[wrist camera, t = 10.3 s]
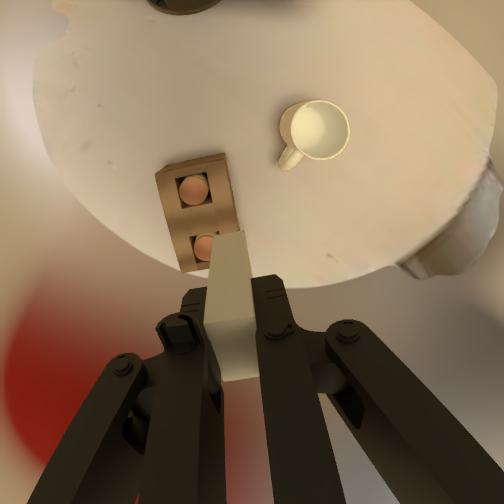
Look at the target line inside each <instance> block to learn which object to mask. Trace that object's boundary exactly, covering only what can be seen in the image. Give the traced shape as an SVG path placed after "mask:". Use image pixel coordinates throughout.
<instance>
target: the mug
mask: <svg viewBox="0 0 504 504" xmlns="http://www.w3.org/2000/svg"><path fill="white" fill-rule="evenodd" d="M279 128H280V134H281V137H282V138H283V140H284V142H285V143H286V144H287V147H286V148H285V150H284V151H283V153H282V155H281V157H280V159H279V164H278V165H279V168H280V170H282V171H288V170H290V169H292V168H293V167H294V166H295V165H296V164H297V163H298V162H299V161H300V160H301V159H302V157H303V156H304V155H305V156H307V157H309V158H312V159H316V160H326V159H330V158H333V157H335V156H336V155H338V154H339V153H340V152H341V151H342V150H343V149H344V148H345V146H346V144H347V142H348V139H349V134H350V128H349V123H348V120H347V118H346V116H345V114H344V113H343V111H342V110H341V109H340V108H339V107H337V106H336V105H335V104H333V103H331V102H328V101H324V100H314V101H309V102H304V103H299V104H295V105H293V106H291V107H290V108H288V109H287V110H286V111H285V112H284V114H283V115H282V117H281V120H280V125H279Z"/></svg>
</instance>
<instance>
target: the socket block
mask: <svg viewBox="0 0 504 504" xmlns="http://www.w3.org/2000/svg"><path fill="white" fill-rule="evenodd" d="M202 172H207V177H208V182H209V187H210V191H208V194H207V197H206V199H205V200H204V201H203V202H202V203H200V204H198V205H189V204H187V203H185V202H184V201H183V200H182V199H181V197H180V194H179V189H180V185H181V184H182V182H183V181H184V180H185V176H188V175H192V174H197V173H202ZM155 178H156V182H157V186H158V190H159V194H160V198H161V202H162V206H163V210H164V214H165V217H166V221H167V225H168V228H169V232H170V235H171V239H172V242H173V246H174V249H175V253H176V256H177V259H178V263H179V266H180V269H181V273H186V272H192V271H198V270H203V269H209V267H210V261H203V260H201V259H199V258H198V257H197V256H196V255H195V253H194V244H195V240H196V237H197V235H200V234H206V233H211V232H217V231H219V233H220V235H221V234H227V233H232V232H238V231H240V229H239V224H238V219H237V213H236V208H235V203H234V198H233V192H232V187H231V182H230V177H229V171H228V166H227V161H226V155H225V153H223V154H218V155H213V156H208V157H203V158H198V159H193V160H189V161H184V162H180V163H175V164H171V165H167V166H165V167H164V168H162V169H161V170H160V171H159V172H157V173H156V174H155Z"/></svg>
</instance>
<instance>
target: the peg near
mask: <svg viewBox="0 0 504 504" xmlns="http://www.w3.org/2000/svg"><path fill="white" fill-rule="evenodd" d="M208 190H209V182H208V177H207V172H202V173H197V174H192V175H188V176H187V177H186V178H185V180H184V181H183V182H182V184H181V185H180V189H179V194H180V197H181V199H182V200H183V201H184V202H185V203H187V204H189V205H198V204H200V203H202V202H203V201H204V200H205V199H206V197H207V194H208Z"/></svg>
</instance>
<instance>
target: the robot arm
mask: <svg viewBox="0 0 504 504" xmlns="http://www.w3.org/2000/svg"><path fill="white" fill-rule="evenodd" d="M147 1H148V2H149V3H150V5H151V6H153V7H154V8H155V9H157V10H159V11H161V12H163V13H167V14H172V15H188V14H194V13H198V12H201V11H204V10H206V9H208V8H210V7H212V6H214V5H216V4H217V3H218V2H220V1H221V0H147ZM155 329H156V331H157V333H158V335H159V338H160V340H161V342H162V344H163V346H164V352H163V353H161V354H159V355H157V356H154V357H152V358H148V359H145V360H142V359H141V358H140V357H139V356H138V355H137V354H134V353H123V354H120V355H118V356H116V357H115V358H113V359H112V360H111V361H110V362H109V363H108V364H107V366H106V367H105V369H104V370H103V372H102V373H101V375H100V376H99V378H98V380H97V381H96V383H95V384H94V386H93V388H92V389H91V391H90V392H89V394H88V396H87V397H86V399H85V400H84V402H83V404H82V405H81V407H80V409H79V410H78V412H77V413H76V415H75V417H74V419H73V420H72V422H71V424H70V425H69V427H68V429H67V430H66V432H65V434H64V435H63V437H62V439H61V441H60V443H59V444H58V446H57V448H56V450H55V451H54V453H53V455H52V457H51V458H50V460H49V462H48V464H47V466H46V468H45V469H44V471H43V473H42V475H41V477H40V479H39V481H38V483H37V485H36V487H35V488H34V491H33V492H32V494H31V496H30V498H29V500H28V503H27V504H135V501H136V499H137V496H138V494H139V500H138V504H227V501H226V473H225V437H224V436H225V435H224V392H223V389H222V386H221V376H222V378H223V381H231V380H239V379H246V378H253V377H260V385H261V393H262V402H263V411H264V419H265V429H266V437H267V446H268V454H269V463H270V471H271V480H272V488H273V497H274V504H346V501H345V497H344V493H343V488H342V485H341V481H340V476H339V473H338V469H337V465H336V461H335V457H334V453H333V449H332V445H331V442H330V439H329V434H328V430H327V427H326V423H325V419H324V416H323V412H322V408H321V404H320V401H319V397H318V393H325V394H326V395H327V397H328V398H329V400H330V401H331V403H332V404H333V406H334V407H335V409H336V410H337V412H338V413H339V415H340V416H341V418H342V419H343V421H344V422H345V424H346V425H347V427H348V428H349V430H350V431H351V432H352V434H353V436H354V437H355V438H356V440H357V441H358V443H359V444H360V446H361V447H362V449H363V450H364V452H365V453H366V455H367V456H368V458H369V459H370V461H371V462H372V464H373V465H374V466H375V468H376V469H377V471H378V472H379V474H380V475H381V477H382V478H383V479H384V481H385V482H386V484H387V485H388V487H389V488H390V490H391V491H392V493H393V494H394V495H395V497H396V498H397V500H398V501H399V502H400V504H504V471H503V470H502V469H501V468H500V467H499V466H498V464H497V463H496V462H495V461H494V460H493V459H492V458H491V457H490V456H489V454H488V453H487V452H486V451H485V450H484V449H483V447H482V446H481V445H480V444H479V443H478V442H477V441H476V440H475V439H474V438H473V436H472V435H471V434H470V433H469V432H468V431H467V430H466V429H465V428H464V427H463V425H462V424H461V423H460V422H459V421H458V420H457V419H456V418H455V417H454V416H453V415H452V414H451V412H450V411H449V410H448V409H447V408H446V407H445V406H444V405H443V404H442V403H441V402H440V401H439V400H438V399H437V398H436V396H435V395H434V394H433V393H432V392H431V391H430V390H429V389H428V388H427V387H426V386H425V385H424V384H423V383H422V382H421V381H420V380H419V379H418V378H417V377H416V376H415V375H414V374H413V373H412V372H411V370H410V369H409V368H408V367H407V366H406V365H405V364H404V363H403V362H402V361H401V360H400V359H399V358H398V357H397V356H396V355H395V354H394V353H393V352H392V351H391V350H390V349H389V348H388V347H387V346H386V345H385V344H384V343H383V342H382V341H381V340H380V339H379V338H378V337H377V336H376V335H375V334H374V333H373V332H372V331H371V330H370V329H369V328H368V327H367V326H366V325H365V324H363V323H362V322H360V321H356V320H341V321H337V322H335V323H333V324H332V325H330V326H329V328H328V329H327V331H326V332H314V331H308V330H305V329H303V328H301V327H299V326H298V325H297V324H296V323H295V321H294V318H293V315H292V311H291V308H290V304H289V301H288V298H287V294H286V291H285V287H284V284H283V280H282V279H281V278H279V277H278V276H277V275H276V274H273V275H268V276H262V277H256V278H253V276H252V271H251V265H250V260H249V255H248V249H247V244H246V238H245V233H244V231H238V232H232V233H227V234H221V235H215V236H213V243H212V251H211V259H210V267H209V276H208V285H207V287H202V288H195V289H189V291H188V292H187V293H186V294H185V296H184V297H183V299H182V305H181V309H180V312H178V313H174V314H171V315H169V316H167V317H165V318H163V319H162V320H161V321H160V322H159V323H158V325H157V326H156V328H155ZM139 491H140V492H139Z"/></svg>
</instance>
